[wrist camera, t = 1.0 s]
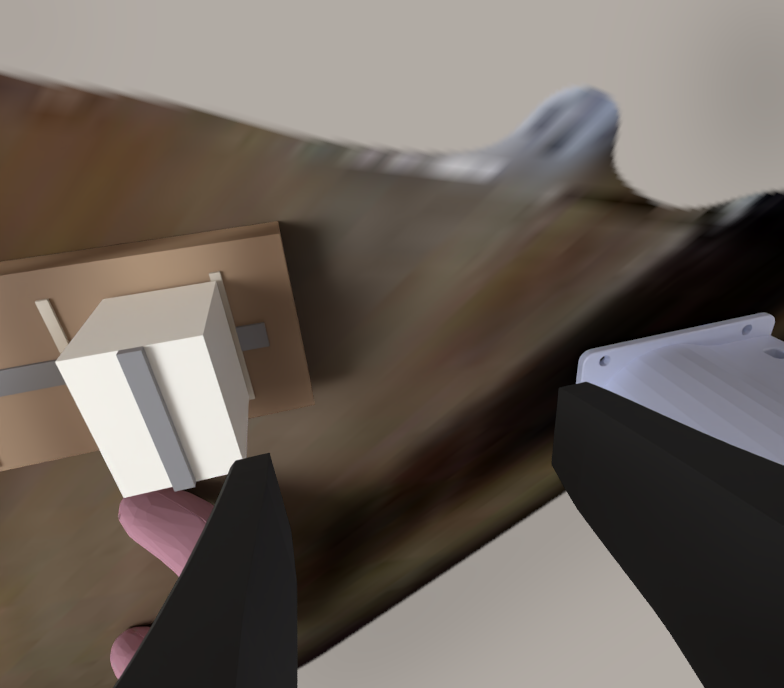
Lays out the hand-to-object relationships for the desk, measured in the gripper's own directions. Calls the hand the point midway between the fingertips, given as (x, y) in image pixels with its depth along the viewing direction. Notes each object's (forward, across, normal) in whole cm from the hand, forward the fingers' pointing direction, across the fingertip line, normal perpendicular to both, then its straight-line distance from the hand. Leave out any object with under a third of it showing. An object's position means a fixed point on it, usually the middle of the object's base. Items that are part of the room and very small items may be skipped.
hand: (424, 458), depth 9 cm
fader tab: (+7, +6, 0) cm, 9 cm away
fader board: (+8, +8, 0) cm, 12 cm away
